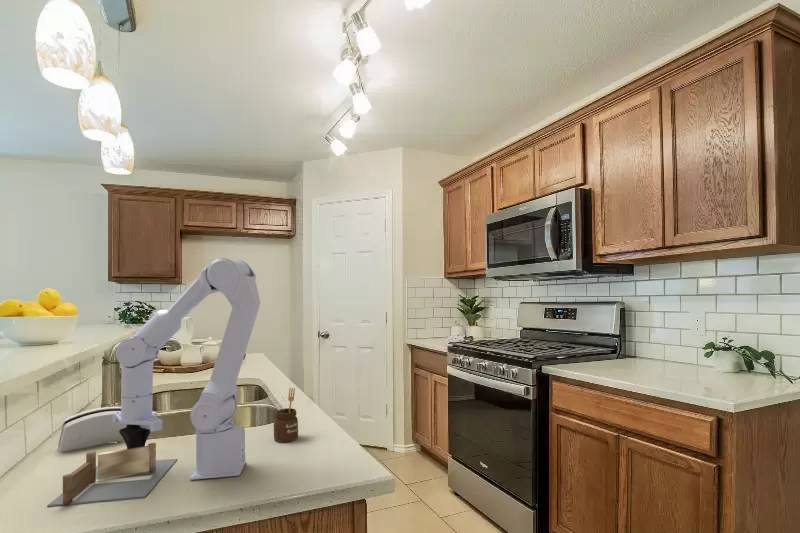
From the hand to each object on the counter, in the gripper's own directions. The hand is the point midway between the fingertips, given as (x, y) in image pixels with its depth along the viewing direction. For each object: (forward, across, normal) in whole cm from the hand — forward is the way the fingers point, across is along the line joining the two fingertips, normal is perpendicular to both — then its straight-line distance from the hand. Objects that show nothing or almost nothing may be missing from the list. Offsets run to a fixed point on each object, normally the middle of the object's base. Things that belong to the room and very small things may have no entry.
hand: (136, 461), depth 97 cm
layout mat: (+2, -1, +4) cm, 5 cm away
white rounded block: (+3, +28, -7) cm, 29 cm away
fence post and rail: (+2, 0, +11) cm, 11 cm away
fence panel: (+2, -1, +2) cm, 3 cm away
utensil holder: (+2, -13, -30) cm, 33 cm away
